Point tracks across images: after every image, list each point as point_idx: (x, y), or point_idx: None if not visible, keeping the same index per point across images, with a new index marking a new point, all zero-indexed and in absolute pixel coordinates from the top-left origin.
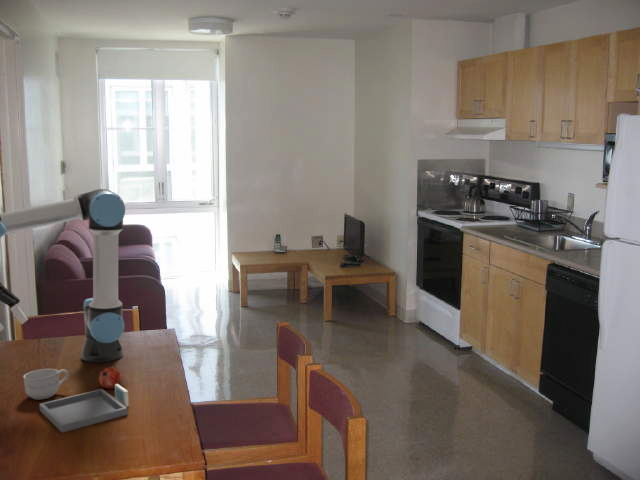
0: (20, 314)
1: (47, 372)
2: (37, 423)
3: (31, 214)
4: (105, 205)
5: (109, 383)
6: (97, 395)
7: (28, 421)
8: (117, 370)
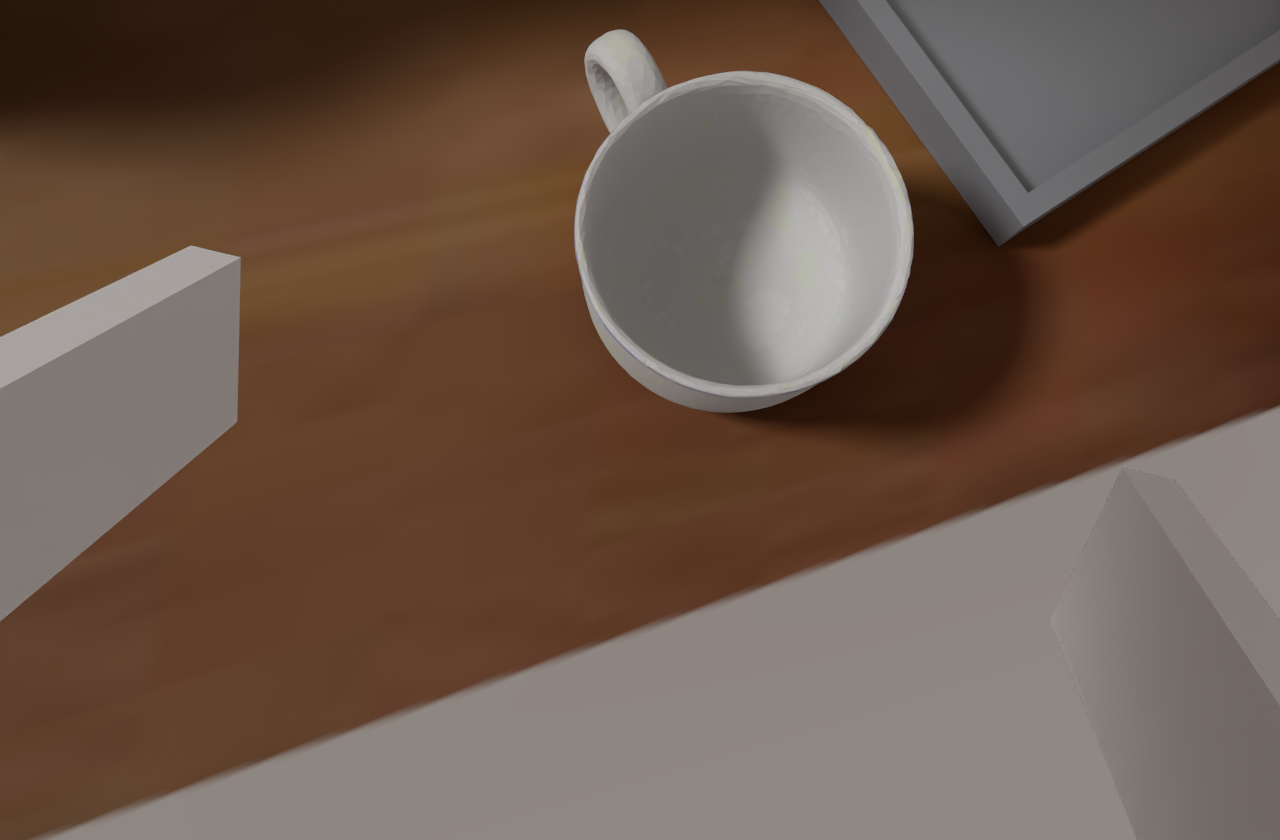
0: (127, 377)
1: (591, 222)
2: (1213, 205)
3: None
4: None
5: None
6: None
7: (1182, 275)
8: None
